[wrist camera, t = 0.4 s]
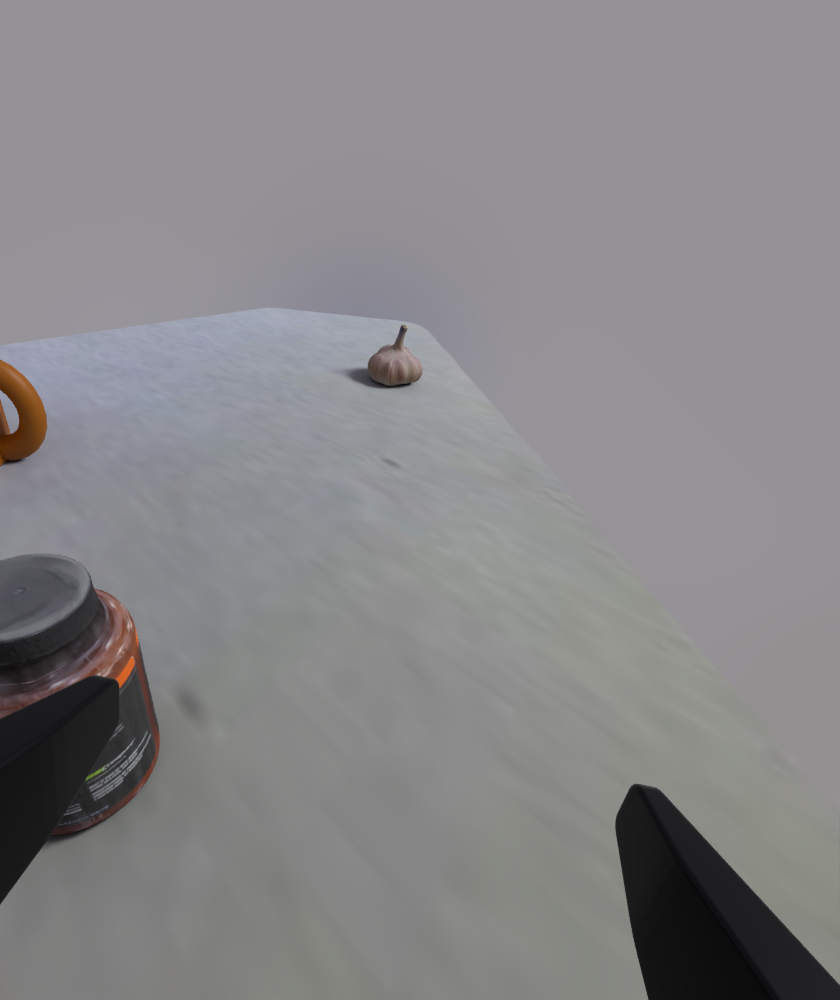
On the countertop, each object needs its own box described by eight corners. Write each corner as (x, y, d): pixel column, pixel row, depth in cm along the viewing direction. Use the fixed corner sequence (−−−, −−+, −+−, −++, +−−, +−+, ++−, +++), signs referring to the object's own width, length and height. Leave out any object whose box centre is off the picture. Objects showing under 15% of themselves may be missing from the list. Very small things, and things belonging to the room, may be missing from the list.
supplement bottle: (76, 694, 25) (14, 516, 19) (187, 725, 25) (162, 555, 18) (-35, 820, 20) (-169, 634, 14) (103, 860, 20) (29, 690, 13)
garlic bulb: (423, 379, 72) (433, 324, 68) (414, 397, 66) (424, 337, 61) (373, 368, 72) (380, 312, 68) (359, 384, 66) (366, 324, 62)
